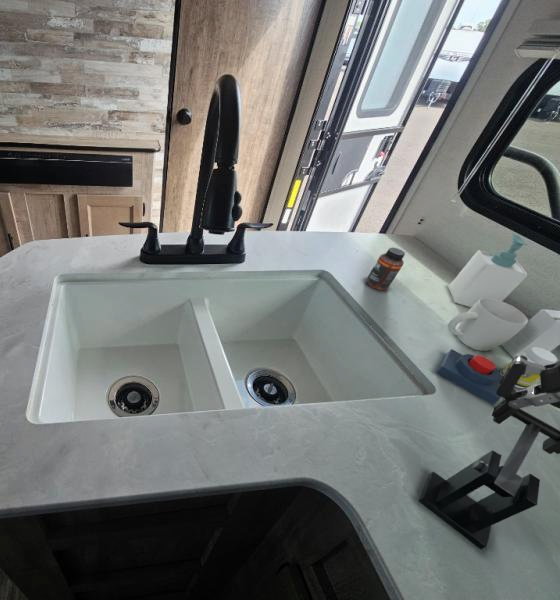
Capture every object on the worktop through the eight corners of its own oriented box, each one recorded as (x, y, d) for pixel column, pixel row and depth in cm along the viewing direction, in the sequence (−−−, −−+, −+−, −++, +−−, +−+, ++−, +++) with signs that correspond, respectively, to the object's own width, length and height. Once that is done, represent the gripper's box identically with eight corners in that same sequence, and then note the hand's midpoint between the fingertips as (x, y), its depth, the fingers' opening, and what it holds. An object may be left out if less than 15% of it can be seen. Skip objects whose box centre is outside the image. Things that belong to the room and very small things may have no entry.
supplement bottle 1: (391, 287, 94) (414, 253, 87) (381, 293, 92) (403, 259, 84) (371, 276, 98) (391, 243, 91) (361, 282, 95) (381, 248, 88)
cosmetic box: (524, 347, 79) (569, 310, 71) (539, 362, 76) (587, 324, 68) (499, 344, 79) (540, 307, 71) (512, 359, 76) (558, 321, 68)
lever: (509, 409, 48) (520, 404, 46) (554, 434, 45) (568, 430, 43) (470, 475, 45) (480, 473, 43) (516, 506, 42) (529, 506, 40)
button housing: (444, 355, 75) (456, 343, 72) (498, 383, 69) (512, 371, 67) (435, 372, 70) (447, 360, 68) (492, 404, 65) (507, 393, 62)
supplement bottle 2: (531, 391, 69) (567, 365, 63) (508, 387, 69) (541, 361, 64) (516, 373, 72) (548, 347, 67) (493, 369, 73) (524, 343, 67)
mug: (477, 330, 83) (508, 300, 76) (503, 357, 76) (539, 326, 69) (427, 324, 83) (453, 293, 76) (449, 351, 76) (479, 319, 70)
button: (470, 357, 70) (476, 352, 68) (490, 368, 68) (497, 363, 67) (466, 366, 68) (472, 360, 66) (487, 377, 66) (494, 372, 64)
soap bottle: (481, 295, 95) (535, 237, 83) (490, 313, 89) (550, 253, 77) (447, 286, 98) (494, 228, 85) (454, 302, 91) (506, 242, 79)
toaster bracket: (428, 474, 53) (480, 437, 45) (488, 517, 49) (556, 484, 41) (417, 501, 50) (472, 466, 42) (480, 549, 45) (553, 521, 38)
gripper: (554, 333, 38) (456, 413, 49) (758, 421, 30) (588, 493, 41) (558, 307, 42) (467, 386, 53) (737, 379, 34) (588, 454, 45)
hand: (520, 433), depth 47 cm, fingers closed on lever, 5 cm apart
